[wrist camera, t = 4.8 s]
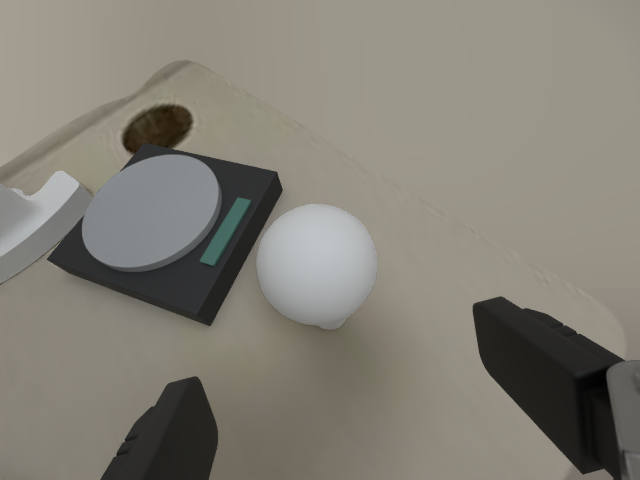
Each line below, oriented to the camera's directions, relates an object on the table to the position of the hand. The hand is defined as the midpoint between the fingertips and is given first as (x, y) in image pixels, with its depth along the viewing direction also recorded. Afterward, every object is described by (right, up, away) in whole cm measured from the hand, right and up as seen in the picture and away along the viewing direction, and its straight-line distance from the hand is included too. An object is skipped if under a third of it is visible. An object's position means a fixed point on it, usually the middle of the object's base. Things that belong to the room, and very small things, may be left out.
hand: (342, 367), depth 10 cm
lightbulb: (0, -2, +15) cm, 15 cm away
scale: (-13, +4, +20) cm, 24 cm away
